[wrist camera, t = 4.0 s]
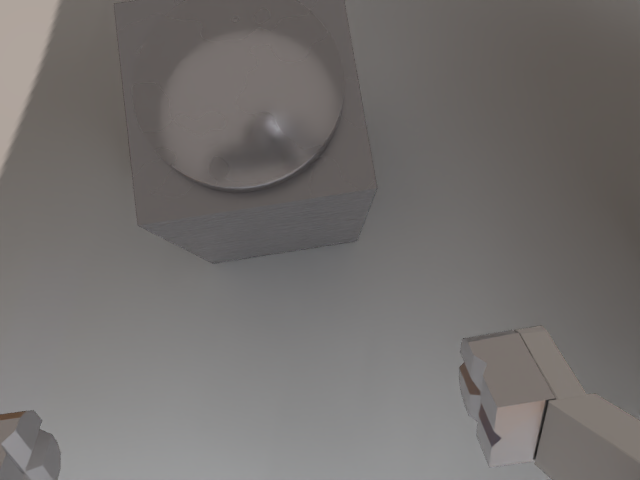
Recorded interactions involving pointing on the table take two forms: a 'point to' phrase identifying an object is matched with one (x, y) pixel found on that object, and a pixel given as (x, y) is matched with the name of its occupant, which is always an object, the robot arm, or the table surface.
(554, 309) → the table surface
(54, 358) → the table surface
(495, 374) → the robot arm
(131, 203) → the table surface
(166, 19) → the grey metal block
